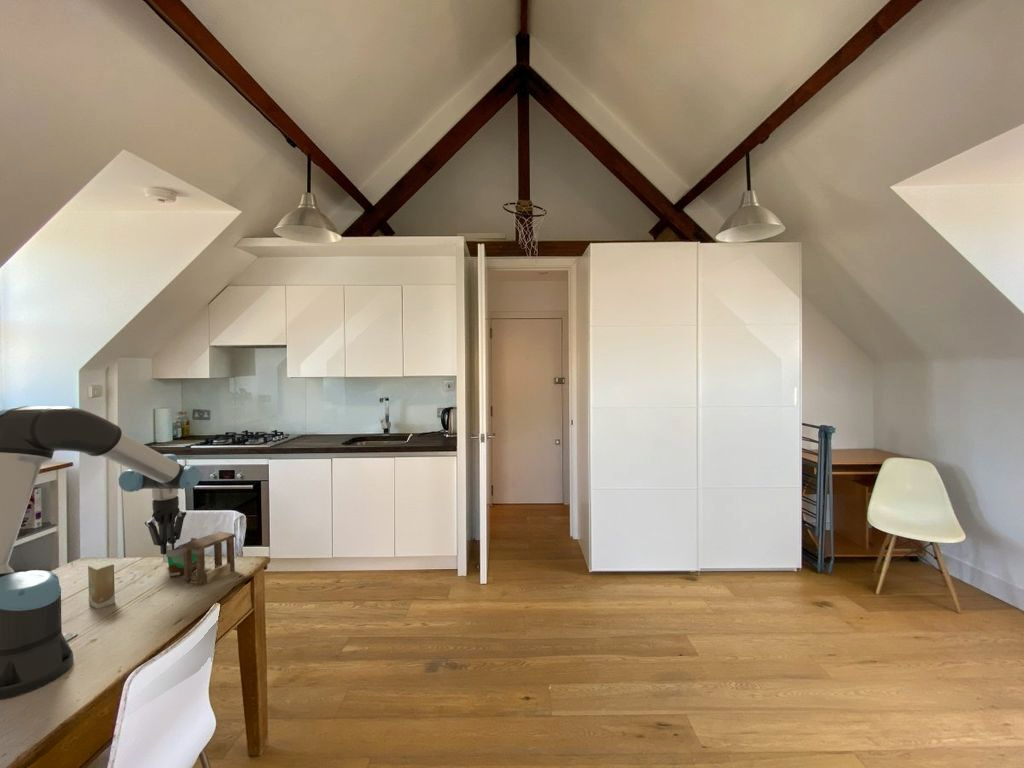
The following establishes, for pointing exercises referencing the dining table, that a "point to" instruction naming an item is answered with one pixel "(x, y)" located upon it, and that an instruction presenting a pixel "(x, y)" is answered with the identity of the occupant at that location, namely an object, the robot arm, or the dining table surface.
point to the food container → (179, 561)
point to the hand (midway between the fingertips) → (167, 561)
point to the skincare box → (101, 584)
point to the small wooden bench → (200, 558)
